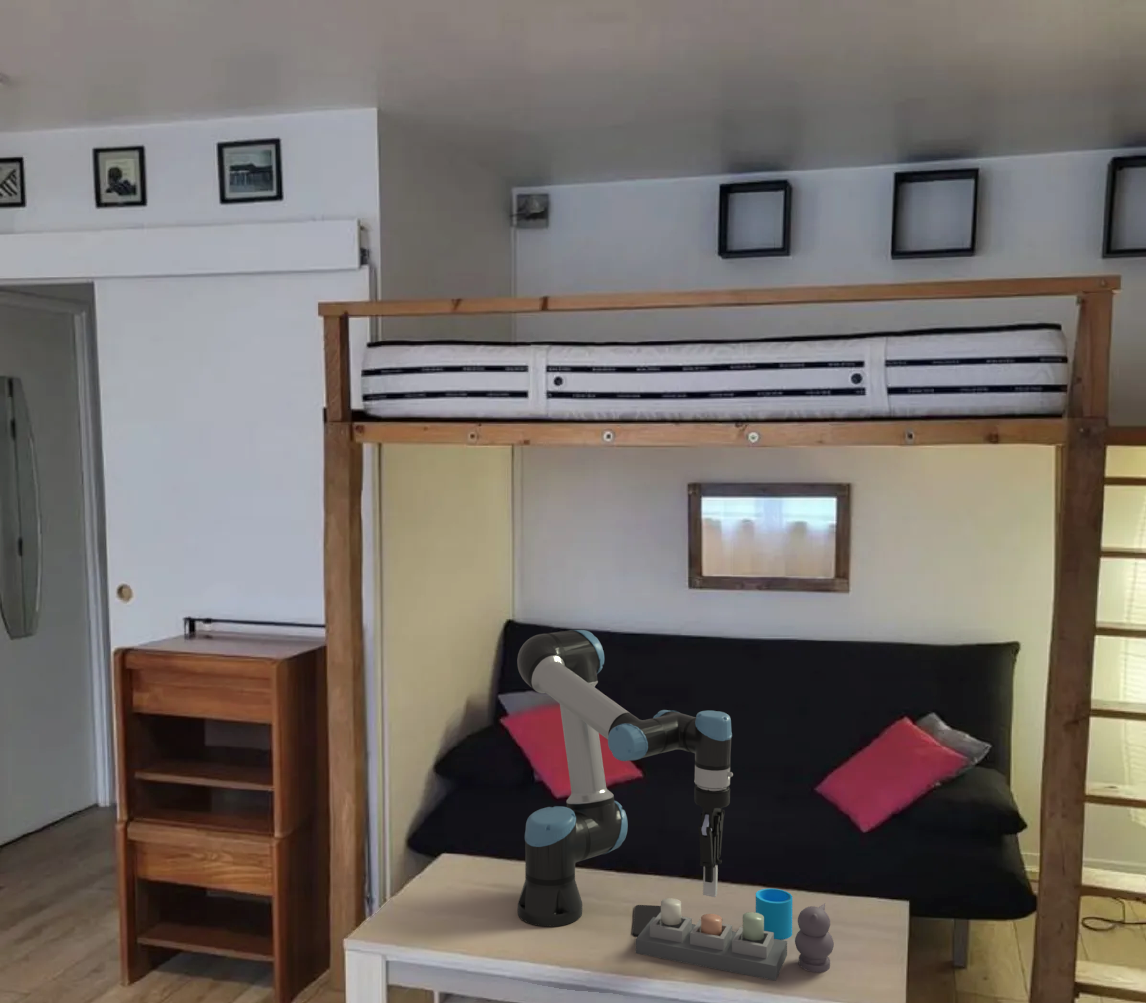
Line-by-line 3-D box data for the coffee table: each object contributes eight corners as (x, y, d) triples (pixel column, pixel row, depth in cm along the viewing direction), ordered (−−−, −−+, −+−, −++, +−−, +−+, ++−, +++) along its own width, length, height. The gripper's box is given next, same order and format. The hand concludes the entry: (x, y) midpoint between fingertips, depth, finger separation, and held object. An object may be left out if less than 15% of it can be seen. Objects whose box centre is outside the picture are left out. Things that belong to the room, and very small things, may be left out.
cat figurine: (801, 952, 215) (802, 896, 215) (838, 960, 211) (838, 904, 211) (789, 968, 208) (789, 911, 207) (826, 978, 204) (827, 919, 203)
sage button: (740, 938, 209) (740, 919, 209) (745, 929, 213) (745, 910, 213) (761, 942, 207) (761, 922, 207) (765, 933, 211) (765, 914, 211)
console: (635, 953, 214) (635, 928, 214) (653, 930, 225) (653, 906, 225) (775, 980, 203) (775, 954, 202) (787, 955, 214) (787, 930, 213)
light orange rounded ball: (698, 939, 213) (698, 920, 213) (704, 930, 217) (704, 912, 217) (718, 943, 211) (718, 924, 211) (724, 934, 215) (724, 915, 215)
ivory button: (658, 923, 216) (658, 904, 216) (664, 915, 220) (664, 897, 220) (677, 926, 214) (677, 908, 214) (683, 918, 218) (683, 900, 218)
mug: (789, 942, 219) (789, 905, 219) (752, 936, 222) (752, 900, 222) (797, 920, 231) (797, 885, 231) (761, 914, 234) (762, 880, 233)
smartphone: (667, 940, 221) (668, 909, 237) (667, 936, 221) (668, 905, 237) (631, 938, 222) (634, 907, 238) (631, 934, 222) (634, 904, 238)
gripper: (721, 797, 206) (719, 910, 207) (737, 779, 218) (734, 886, 219) (686, 791, 209) (684, 903, 209) (703, 774, 221) (701, 880, 221)
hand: (710, 894), depth 214 cm, fingers closed
